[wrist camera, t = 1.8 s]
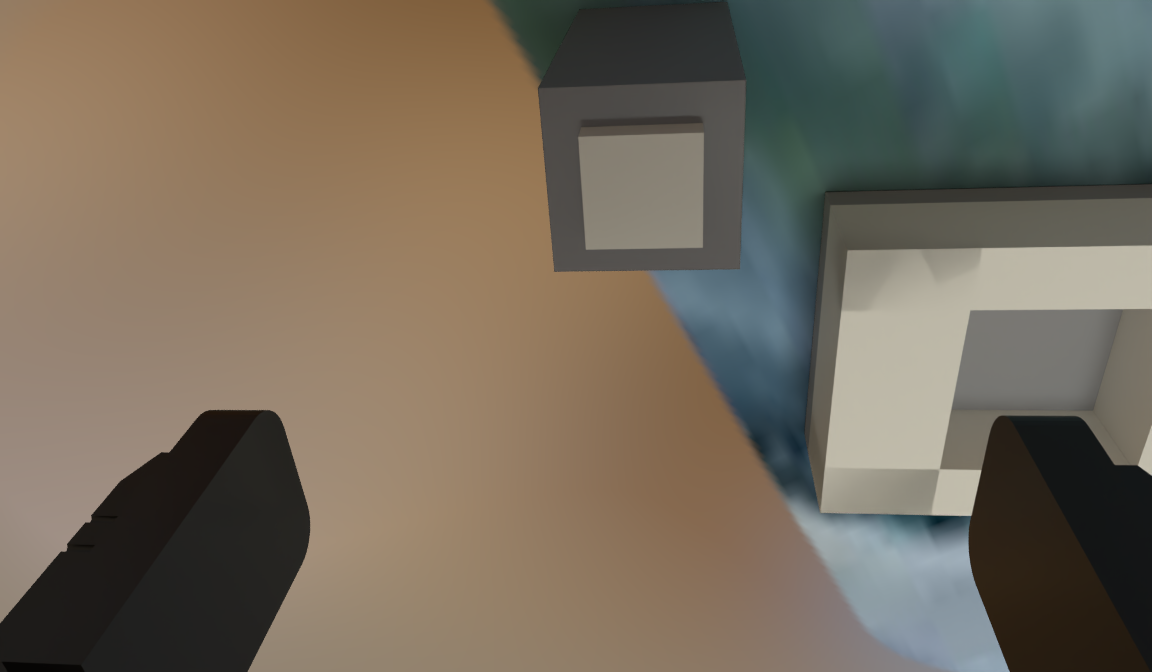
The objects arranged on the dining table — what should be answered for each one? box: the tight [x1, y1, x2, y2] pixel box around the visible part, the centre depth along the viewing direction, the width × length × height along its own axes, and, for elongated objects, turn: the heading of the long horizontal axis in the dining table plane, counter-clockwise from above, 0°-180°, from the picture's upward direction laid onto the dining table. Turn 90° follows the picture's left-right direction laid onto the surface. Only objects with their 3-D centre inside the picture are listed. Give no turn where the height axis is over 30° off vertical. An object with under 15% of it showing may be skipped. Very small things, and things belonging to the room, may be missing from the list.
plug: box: [538, 2, 746, 272], centre depth 21 cm, size 4×4×9 cm
